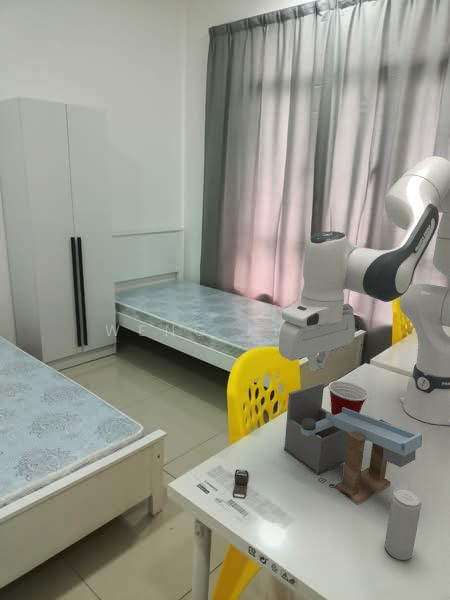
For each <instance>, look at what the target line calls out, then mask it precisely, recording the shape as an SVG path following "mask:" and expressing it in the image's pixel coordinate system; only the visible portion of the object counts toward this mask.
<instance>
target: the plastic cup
mask: <svg viewBox="0 0 450 600" xmlns="http://www.w3.org/2000/svg"><path fill="white" fill-rule="evenodd" d="M328 390H329V398H330V411H331V412H330V413H331V414H333V415H337V414H339V413H342V407H344V408H347V409H349V410H352V411H355V412H358V413H360V414H361V411H362V407H363V405H364V403H366V402H365V401H366V400H367V399H369V396H370V394H369V392H368V390H367V389H365V388H364V387H363V386H361V385H359V384H356V383H353V382H351V381H347V380H346V381H345V380H334V381H331V382H329V384H328Z"/></svg>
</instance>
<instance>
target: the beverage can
mask: <svg viewBox="0 0 450 600" xmlns="http://www.w3.org/2000/svg"><path fill="white" fill-rule="evenodd" d="M421 509H422V497H421V496H420V495H419V494H418V493H417V492H416V491H414V490H413V489H410V488H408V487H398V488H395V489H394V491H393V493H392V497H391V501H390V507H389V513H388V514H389V515H388V520H387V527H386V533H385V539H384V540H385V541H384V547H385V550H386V551H387V553H388V554H389V555H390V556H391V557H393V558H394V559H396V560H399V561H406V560H409V559H411V558H412V556H413V553H414V552H413V551H414V547H415V542H416V536H417V530H418V526H419V519H420V514H421Z"/></svg>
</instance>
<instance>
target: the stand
mask: <svg viewBox="0 0 450 600" xmlns="http://www.w3.org/2000/svg"><path fill="white" fill-rule="evenodd" d="M378 420H379V421H382V422H385V423H387V424H390V425H392V424H391V423H388V422H387V421H385V420H383V419H378ZM365 444H366V440H365V437H363V436H361V435H359V434H358V433H356V432H354V431H353V432H351V433H349V434H348V436H347V444H346V452H345V460H344V463H343V470H342V479H341V481H340V482H338V483H336V484H335V490H337V491H338V492H340V493H341V494H343V495H344V496H345V497H346V498H348V499H349V500H351V501H352V502H353V503H355V505H359V504H360V503H363V502H364V501H366V500H368V499H369V498H371V497H373V496H374V495H376V494H378V493H380V492H381V491H383V490H384V489H386V488H388V487H390V486H391V481H390V479H389V480H388V479H387V478H386V473H387V465H388V461H385V460H383V447H382V446H379V445H377V444H375V443H372V445H371V453H370V459H369V465H368V467H366V468H364V469H363V470H362V466H363V460H364V452H365Z"/></svg>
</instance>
